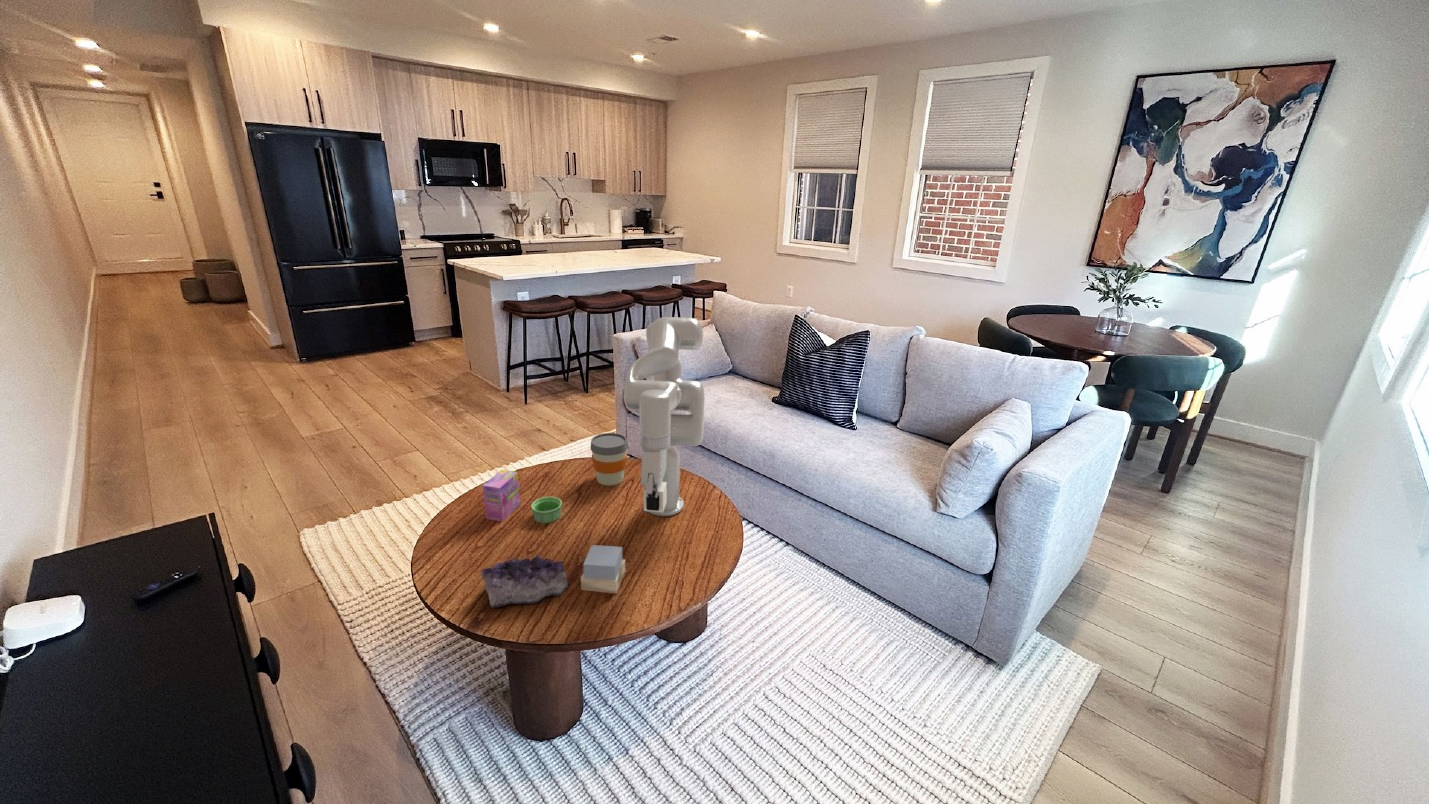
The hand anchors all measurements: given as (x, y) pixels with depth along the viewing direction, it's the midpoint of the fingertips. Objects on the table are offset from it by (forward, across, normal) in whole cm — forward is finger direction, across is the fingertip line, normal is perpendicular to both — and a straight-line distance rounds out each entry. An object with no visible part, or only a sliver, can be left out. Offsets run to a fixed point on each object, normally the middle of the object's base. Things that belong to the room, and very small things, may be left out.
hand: (655, 503), depth 142 cm
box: (+20, -19, -51) cm, 58 cm away
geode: (+20, +14, -30) cm, 39 cm away
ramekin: (+20, -19, -37) cm, 46 cm away
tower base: (+20, +8, -12) cm, 24 cm away
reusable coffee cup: (+20, -45, -25) cm, 55 cm away
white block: (+1, 0, 0) cm, 1 cm away
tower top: (+16, +8, -12) cm, 21 cm away
